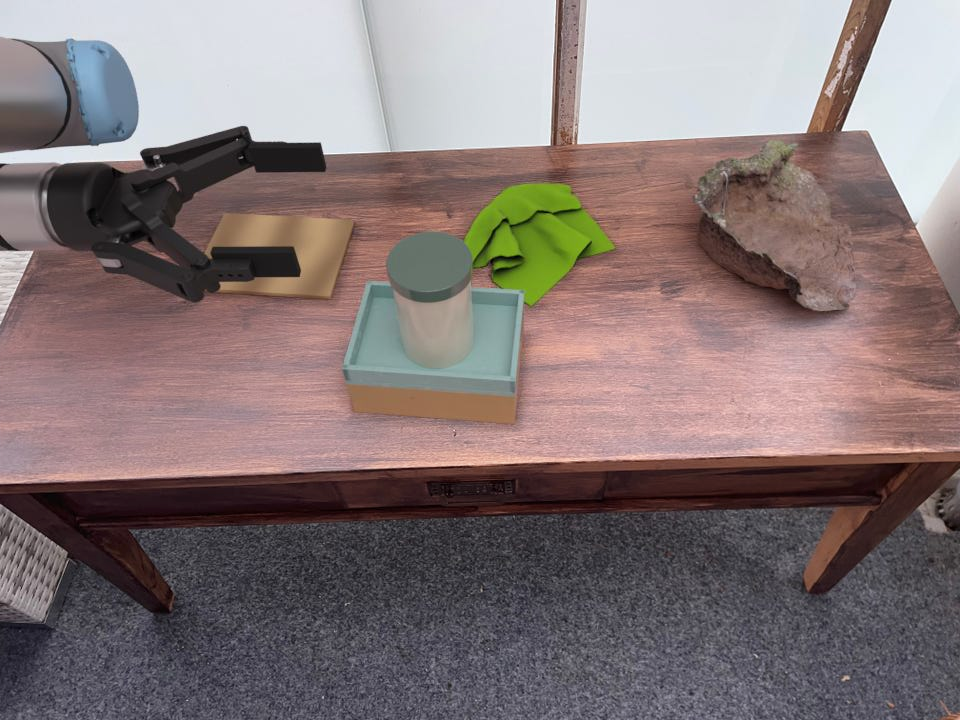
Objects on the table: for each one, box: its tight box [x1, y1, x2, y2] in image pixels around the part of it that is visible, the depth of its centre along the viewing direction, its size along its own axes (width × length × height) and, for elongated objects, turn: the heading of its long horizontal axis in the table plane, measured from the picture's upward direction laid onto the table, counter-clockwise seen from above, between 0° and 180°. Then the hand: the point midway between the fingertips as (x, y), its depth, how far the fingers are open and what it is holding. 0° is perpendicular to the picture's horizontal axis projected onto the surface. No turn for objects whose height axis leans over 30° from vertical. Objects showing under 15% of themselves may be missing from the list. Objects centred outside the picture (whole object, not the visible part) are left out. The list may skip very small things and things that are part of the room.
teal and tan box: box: [341, 280, 525, 425], centre depth 77 cm, size 17×12×8 cm
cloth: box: [462, 182, 617, 307], centre depth 92 cm, size 20×22×2 cm
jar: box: [385, 231, 474, 369], centre depth 71 cm, size 8×8×12 cm
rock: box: [692, 139, 858, 312], centre depth 87 cm, size 26×22×10 cm
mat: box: [203, 212, 356, 300], centre depth 92 cm, size 18×14×1 cm
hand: (311, 206), depth 62 cm, fingers open, 13 cm apart
